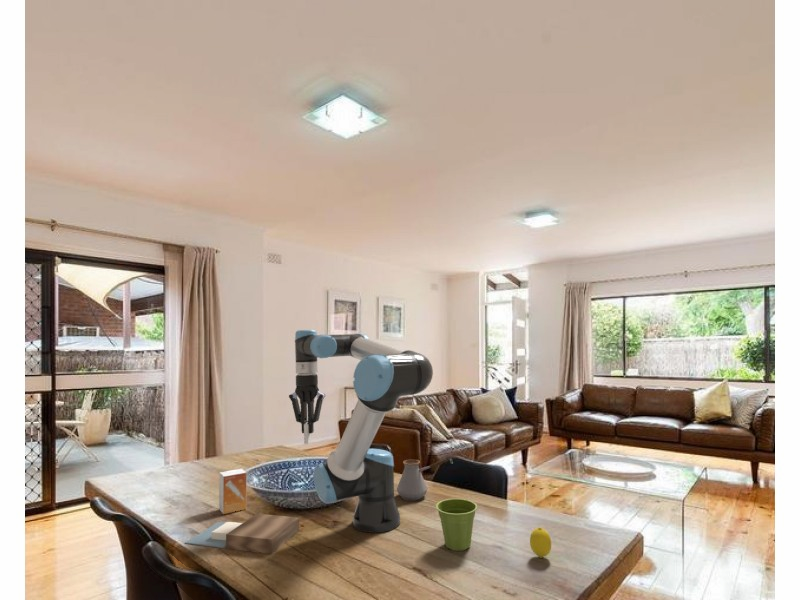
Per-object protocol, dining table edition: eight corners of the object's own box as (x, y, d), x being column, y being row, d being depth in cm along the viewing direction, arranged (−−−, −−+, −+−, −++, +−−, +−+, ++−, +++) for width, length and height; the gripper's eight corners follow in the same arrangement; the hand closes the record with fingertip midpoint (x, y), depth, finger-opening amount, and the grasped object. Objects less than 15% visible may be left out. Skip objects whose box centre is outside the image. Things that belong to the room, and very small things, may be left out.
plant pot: (430, 541, 140) (429, 502, 141) (466, 534, 144) (464, 496, 145) (448, 558, 129) (447, 516, 130) (486, 550, 133) (485, 509, 134)
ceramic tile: (249, 530, 150) (249, 523, 150) (234, 541, 142) (234, 534, 142) (227, 528, 152) (227, 521, 152) (211, 538, 144) (211, 532, 145)
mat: (255, 526, 154) (255, 525, 154) (223, 548, 139) (223, 547, 139) (219, 522, 158) (219, 521, 158) (184, 543, 142) (184, 542, 142)
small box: (223, 515, 164) (223, 476, 165) (218, 509, 169) (218, 472, 170) (246, 509, 169) (246, 472, 169) (242, 504, 174) (241, 468, 175)
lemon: (535, 551, 132) (534, 521, 133) (555, 556, 129) (553, 526, 129) (527, 558, 128) (525, 528, 128) (547, 565, 124) (545, 533, 125)
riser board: (299, 530, 150) (298, 517, 150) (271, 554, 134) (271, 539, 134) (257, 526, 154) (257, 513, 154) (226, 548, 138) (226, 534, 139)
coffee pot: (393, 501, 174) (392, 459, 175) (401, 490, 185) (401, 451, 186) (450, 505, 168) (449, 462, 169) (456, 494, 179) (455, 454, 180)
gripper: (284, 375, 164) (285, 444, 163) (319, 374, 161) (321, 445, 160) (294, 373, 172) (295, 439, 170) (328, 372, 169) (329, 440, 167)
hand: (307, 442), depth 165 cm, fingers closed
